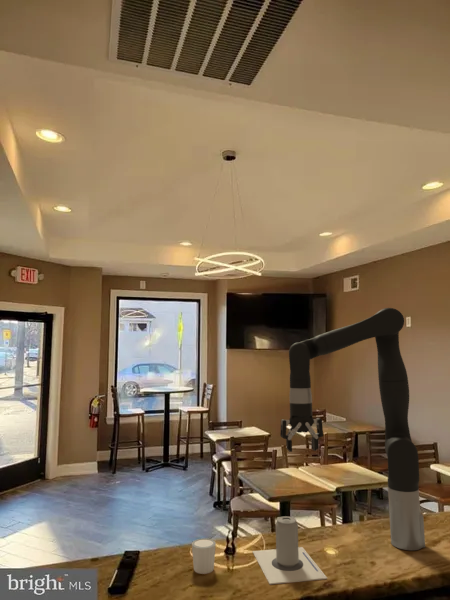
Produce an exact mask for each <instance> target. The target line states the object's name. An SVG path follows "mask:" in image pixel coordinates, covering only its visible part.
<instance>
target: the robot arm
mask: <svg viewBox="0 0 450 600" xmlns="http://www.w3.org/2000/svg"><path fill="white" fill-rule="evenodd" d="M401 312H402V311H399V310H398V309H396V308H392V307H385V308H382V309H380V310H379V311H377V312H376V313H375V314H373V315H371V316H370V317H368V318H365V319H363V320H361V321H358V322H355V323H353V324H349V325H346V326H343V327H339V328H336V329H333V330H329V331H327V332H326V331H325V332H324V333H321V334H318V335H315V336H314V337H312V338H310V339H305V340H302V341H300V342H295V343H293V344H292V345H290V347H289V350H288V359H289V361H288V362H289V369H290V370H289V371H290V372H289V394H288V395H289V396H288V397H289V419H283V418H282V419H281V420H280V432H279V433H280V437H281V438H282V439H285V441H286V443H285V444H286V446H285V447H286V451H287V450H288V452H290V453H292V452H293V442H292V441H293V440H292V439H293V438H294V436H295V435H296V434H297V433H299V434H301V433H309V435H310V436H311V437H312V438H311V447H312V451H315V452H316V451H317V450H318V448H319V439H320V438H323V436H324V428H323V420H322V418H320V417H316V418H313V396H312V395H313V394H312V393H313V392H312V387H311V386H312V384H311V383H312V382H311V374H310V369H311V368H310V366H311V365H310V364H311V361H310V360H313V359H315V358H317V357H320V356H324V355H329V354H332V353H334V352H337V351H339V350H342V349H345V348H347V347H350V346H352V345H355V344H357V343H359V342H362V341H365V340H369V339H373V338H375V344H376V350H377V372H378V373H377V374H378V387H379V388H378V389H379V393H380V395H379V396H380V401H381V407H382V412H383V416H384V429H385V430H384V431H385V432H384V434H385V436H384V437H385V438H384V450H385V454H386V456H387V473H388V474H387V497H388V511H389V513H388V514H389V530H390V531H389V532H390V536H389V537H390V544H391V545H392V546H393V547H395V548H398V549H400V550H405V551H419V550H421V549H422V548H426V539H425V537H426V536H425V523H424V522H425V521H424V515H423V514H422V513H421V505H420V504H421V503H420V489H419V488H420V487H419V485H420V484H419V483H420V463H419V462H420V461H419V460H420V458H419V452H418V449H417V446H416V445H415V443H413V441H412V436H411V432H410V428H409V416H408V415H409V407H410V387H409V386H410V385H409V377H408V373H407V372H408V371H407V369H406V365H405V363H404V362H405V361H404V359H403V356H402V354H401V349H400V340H399V339H400V337H399V335H400V331H401V330H403V328H404V325H405V318H404V315H403V313H401ZM289 425H290V429H288V432H287V428H288V426H289ZM313 425H315V426H316V432H315V429H313V427H312V426H313Z"/></svg>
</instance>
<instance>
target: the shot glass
mask: <svg viewBox="0 0 450 600" xmlns="http://www.w3.org/2000/svg"><path fill="white" fill-rule="evenodd" d="M216 544H217V543H216V541H215V540H214V539H211V538H198V539H195V540H193V541H192V543H191V552H192V561H193V562H192V563H193V571H194V572H195V573H196V574H199V575H200V574H202V575H203V574H204V575H205V574H210V573H212V572H213V571H214V569H215V556H216V546H217V545H216Z"/></svg>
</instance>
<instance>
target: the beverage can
mask: <svg viewBox="0 0 450 600" xmlns="http://www.w3.org/2000/svg"><path fill="white" fill-rule="evenodd" d="M298 526H299V525H298V523H297V519H296V518H295V517H292V516H289V515H288V516H286V515H285V516H279V517H278V518H277V519H276V522H275V549H276V560H277V562H278V563H279V564H280V565H281V566H284V567H293V566H295V565H296V564H297V563H298V562H299V553H298V547H299V527H298Z"/></svg>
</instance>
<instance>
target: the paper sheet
mask: <svg viewBox="0 0 450 600" xmlns="http://www.w3.org/2000/svg"><path fill="white" fill-rule="evenodd" d="M298 553H299V562H298V563H297V564H296V565H295V566H293V567H284V566H281V565H280V564H279V563H278V562H277V560H276V548H274V549H273V548H272V549H264V550H261V549H260V550H252V554H253V556H254V558H255V559H256V561H257V563H258V566H259V567H260V569H261V571H262V572H263V575H264V577H265V578H266V581H267V583H268V584H269V585H277V584H288V583H289V584H290V583H298V582H299V583H301V582H310V581H311V582H312V581H319V580H320V581H321V580H328V576H327V575H325V573H324V572H323V571H322V569H321V568H320V567H319V565H318V564H317V563H316V562H315V561H314V559H312V557H311V556H310V554H309V553H308V552H307V551H306V549H305V548H304V547H303V546H298Z"/></svg>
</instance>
